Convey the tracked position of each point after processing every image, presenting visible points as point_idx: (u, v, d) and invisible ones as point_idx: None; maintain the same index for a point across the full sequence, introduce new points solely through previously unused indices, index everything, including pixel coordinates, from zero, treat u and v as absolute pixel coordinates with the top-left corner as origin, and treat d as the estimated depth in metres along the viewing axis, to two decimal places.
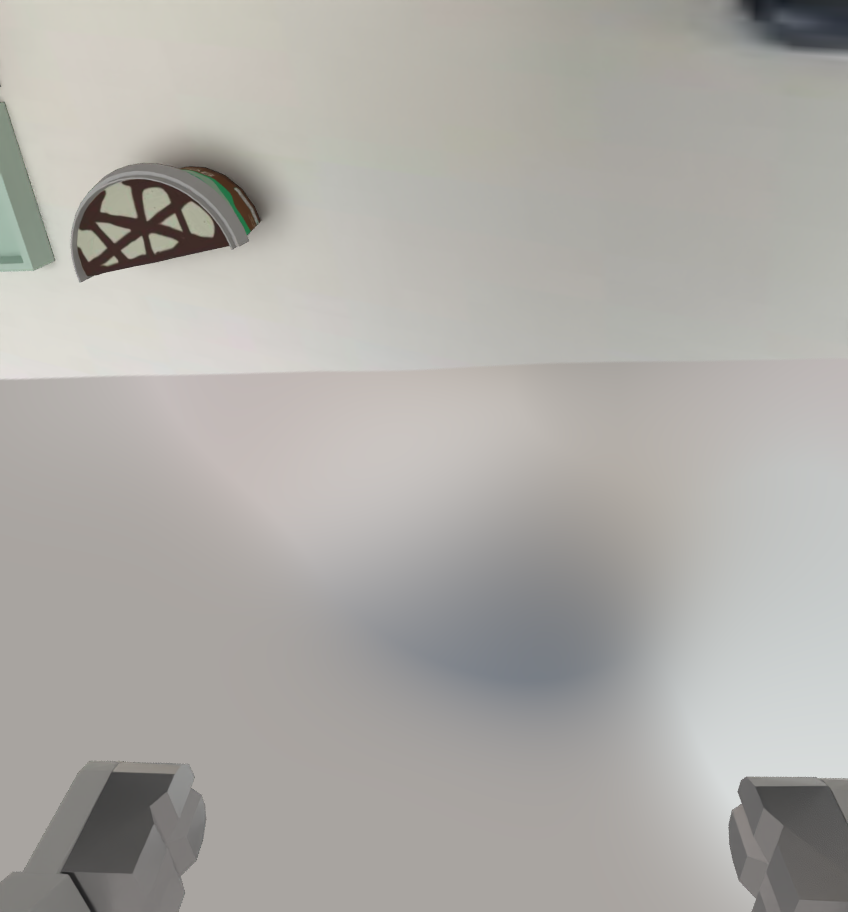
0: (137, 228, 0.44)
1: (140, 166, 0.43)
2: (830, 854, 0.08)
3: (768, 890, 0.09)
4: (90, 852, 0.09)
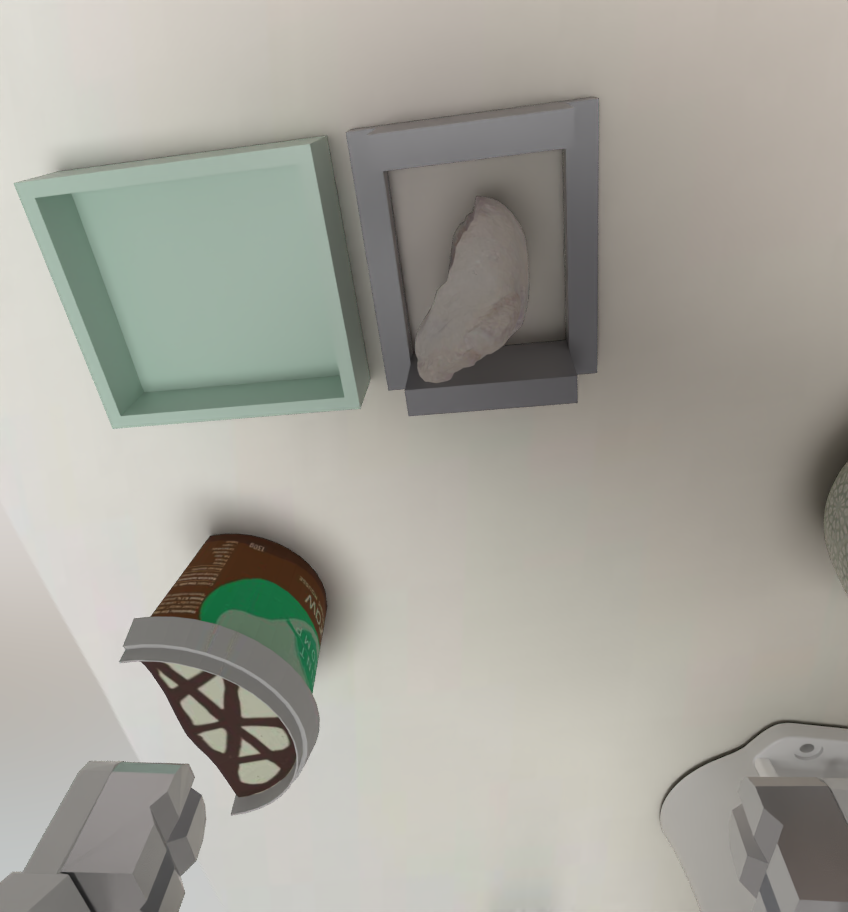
0: (227, 715, 0.31)
1: (311, 716, 0.32)
2: (830, 854, 0.08)
3: (768, 890, 0.09)
4: (90, 852, 0.09)
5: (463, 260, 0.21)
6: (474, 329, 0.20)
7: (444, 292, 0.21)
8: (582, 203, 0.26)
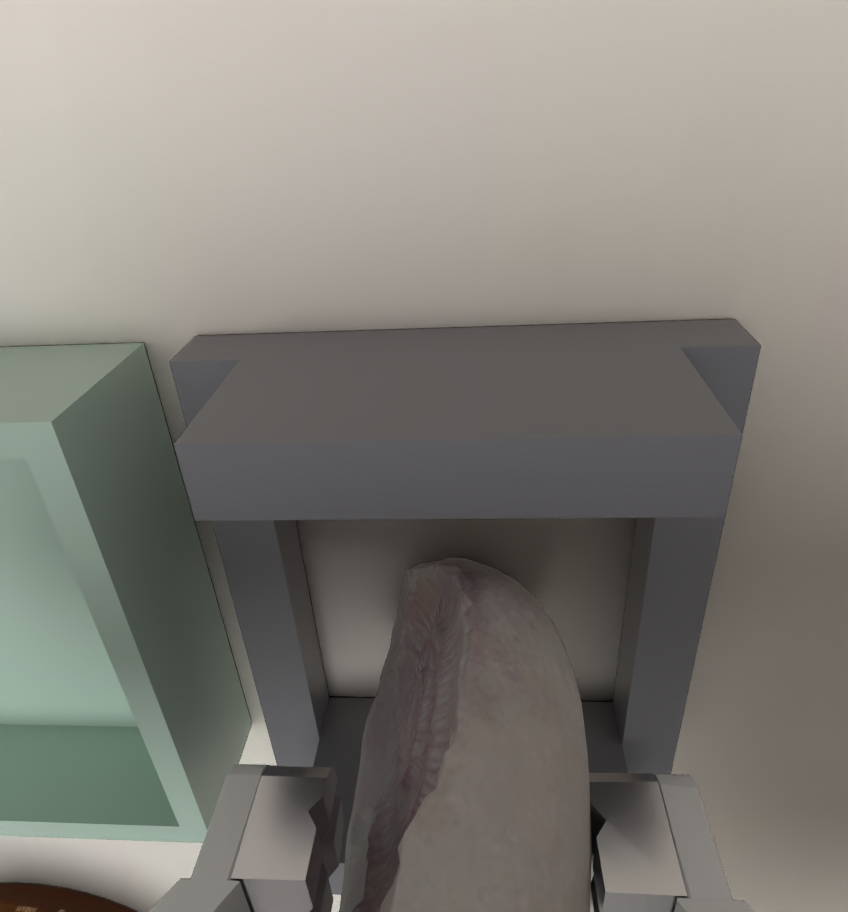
0: None
1: None
2: (645, 848, 0.08)
3: None
4: (257, 858, 0.08)
5: None
6: None
7: None
8: (687, 532, 0.12)
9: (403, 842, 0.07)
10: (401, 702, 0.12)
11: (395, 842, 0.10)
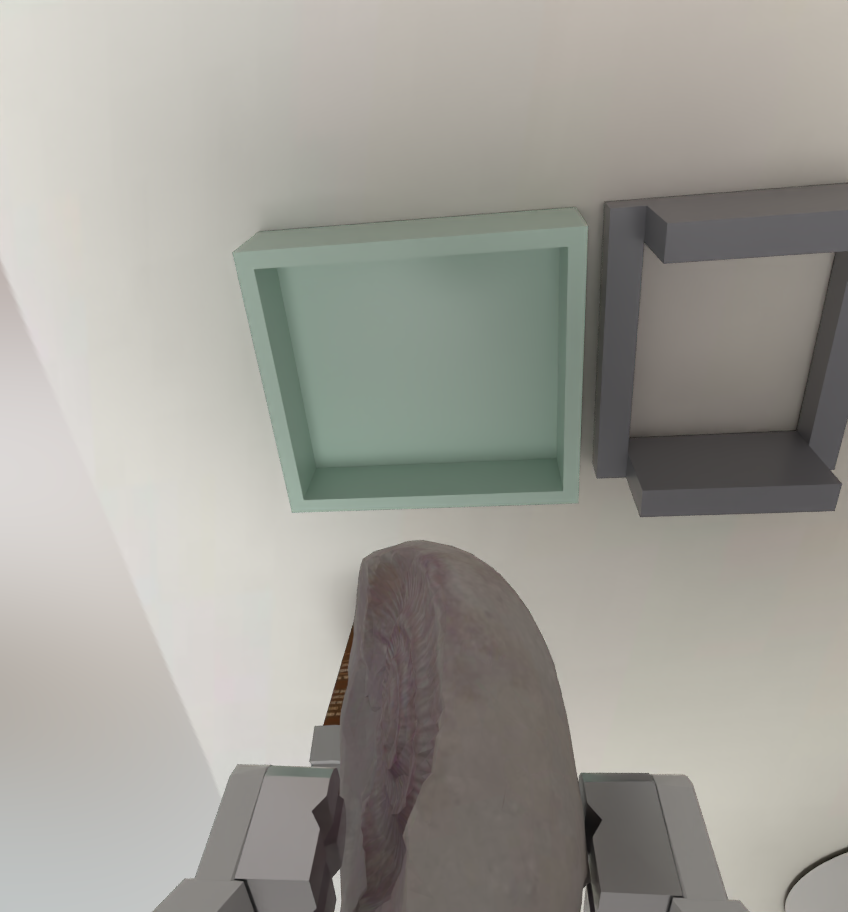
0: None
1: None
2: (641, 848, 0.08)
3: None
4: (260, 858, 0.08)
5: (438, 910, 0.07)
6: None
7: None
8: None
9: (408, 830, 0.07)
10: (374, 690, 0.12)
11: (390, 827, 0.10)
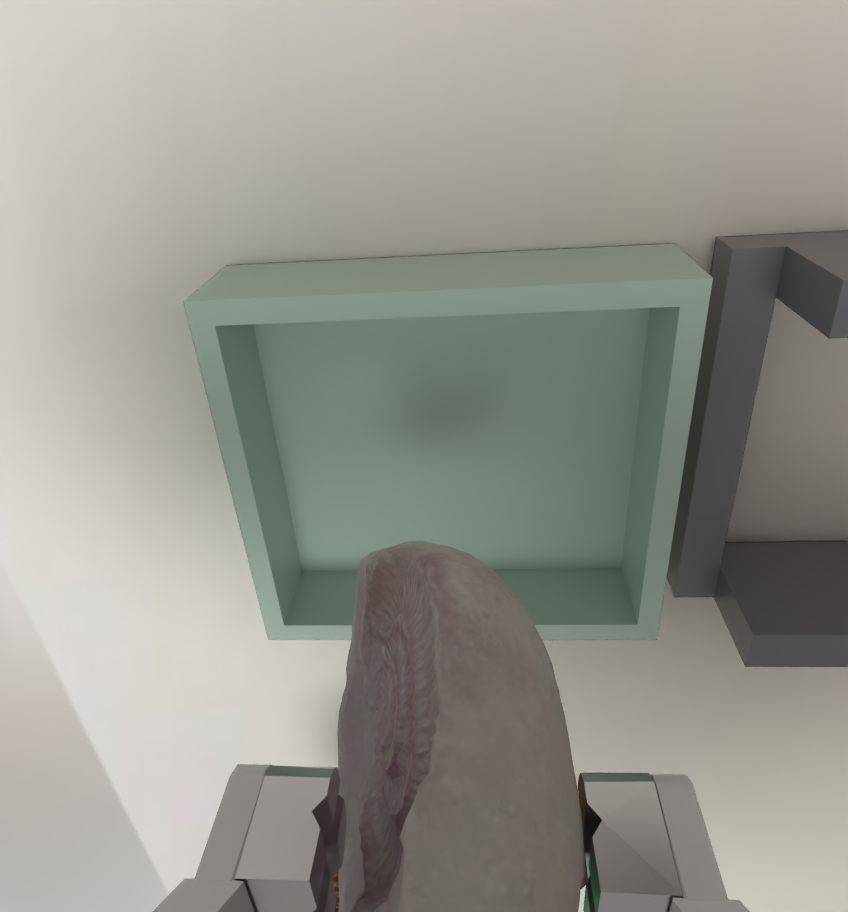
0: None
1: None
2: (640, 848, 0.08)
3: None
4: (261, 858, 0.08)
5: None
6: None
7: None
8: None
9: (405, 831, 0.07)
10: (373, 690, 0.12)
11: (388, 828, 0.10)
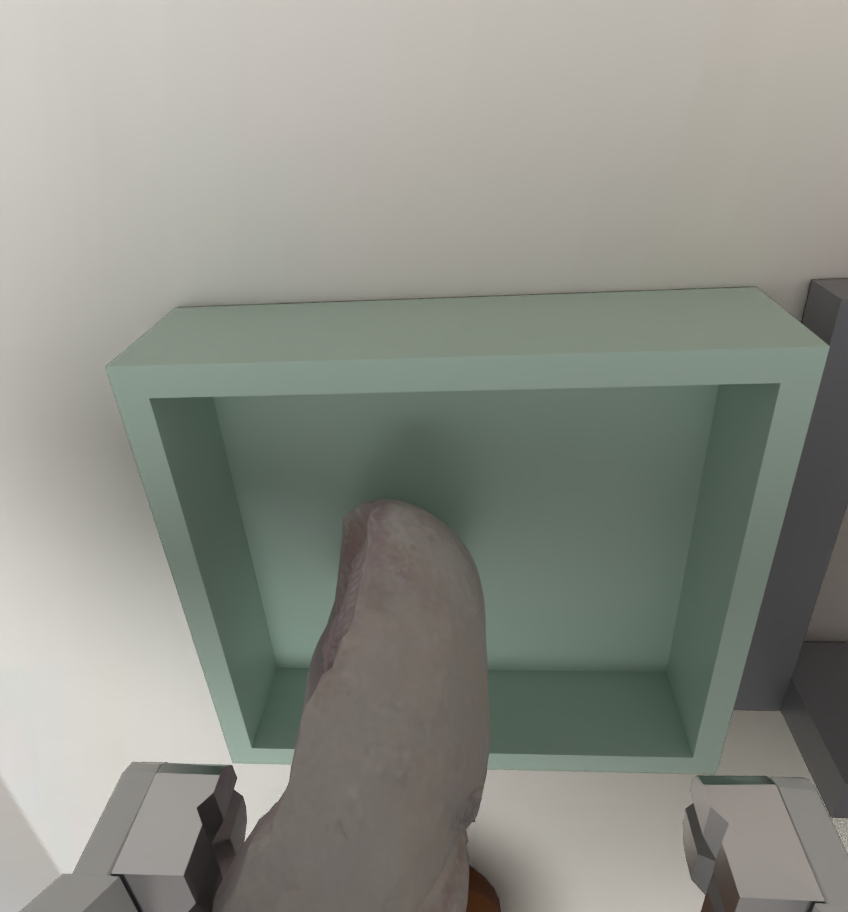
0: None
1: None
2: (773, 852, 0.08)
3: (716, 888, 0.09)
4: (140, 853, 0.09)
5: (315, 780, 0.08)
6: None
7: (263, 871, 0.08)
8: None
9: (303, 713, 0.08)
10: None
11: None
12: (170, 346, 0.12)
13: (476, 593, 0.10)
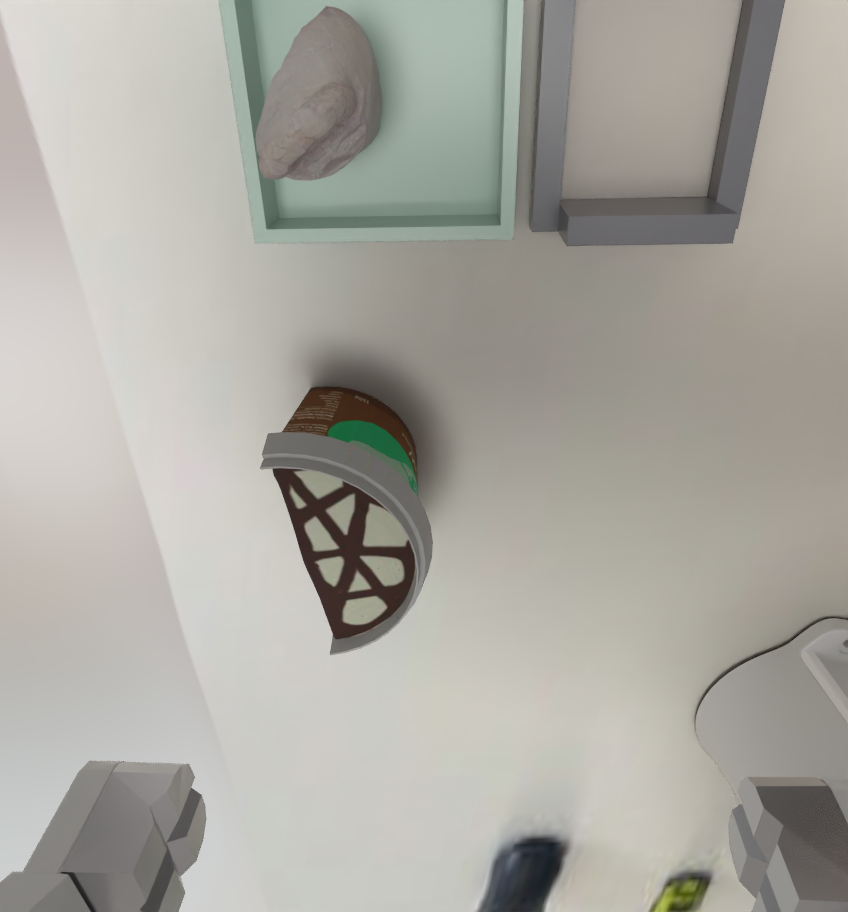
0: (349, 543, 0.31)
1: (429, 551, 0.32)
2: (830, 854, 0.08)
3: (768, 890, 0.09)
4: (90, 852, 0.09)
5: (298, 48, 0.22)
6: (301, 107, 0.21)
7: (278, 78, 0.22)
8: (760, 44, 0.27)
9: (294, 38, 0.22)
10: None
11: None
12: None
13: (370, 45, 0.24)
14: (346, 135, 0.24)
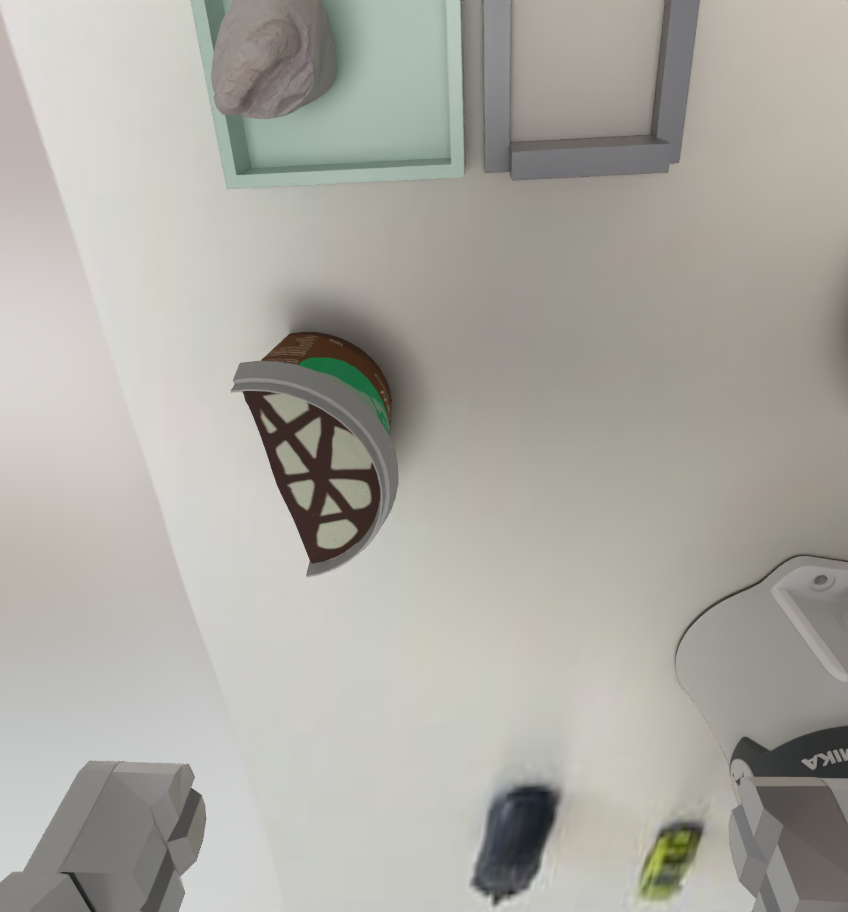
0: (318, 466, 0.33)
1: (394, 475, 0.34)
2: (830, 854, 0.08)
3: (768, 890, 0.09)
4: (90, 852, 0.09)
5: None
6: (244, 41, 0.23)
7: (226, 18, 0.24)
8: None
9: None
10: None
11: None
12: None
13: None
14: (294, 74, 0.26)
